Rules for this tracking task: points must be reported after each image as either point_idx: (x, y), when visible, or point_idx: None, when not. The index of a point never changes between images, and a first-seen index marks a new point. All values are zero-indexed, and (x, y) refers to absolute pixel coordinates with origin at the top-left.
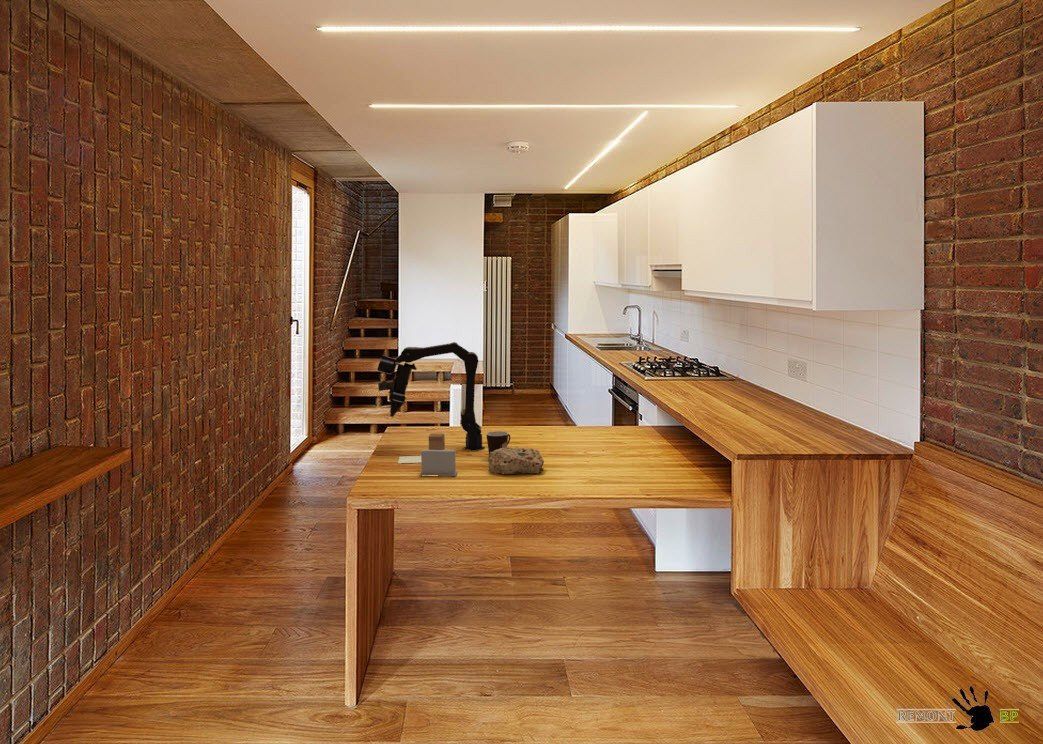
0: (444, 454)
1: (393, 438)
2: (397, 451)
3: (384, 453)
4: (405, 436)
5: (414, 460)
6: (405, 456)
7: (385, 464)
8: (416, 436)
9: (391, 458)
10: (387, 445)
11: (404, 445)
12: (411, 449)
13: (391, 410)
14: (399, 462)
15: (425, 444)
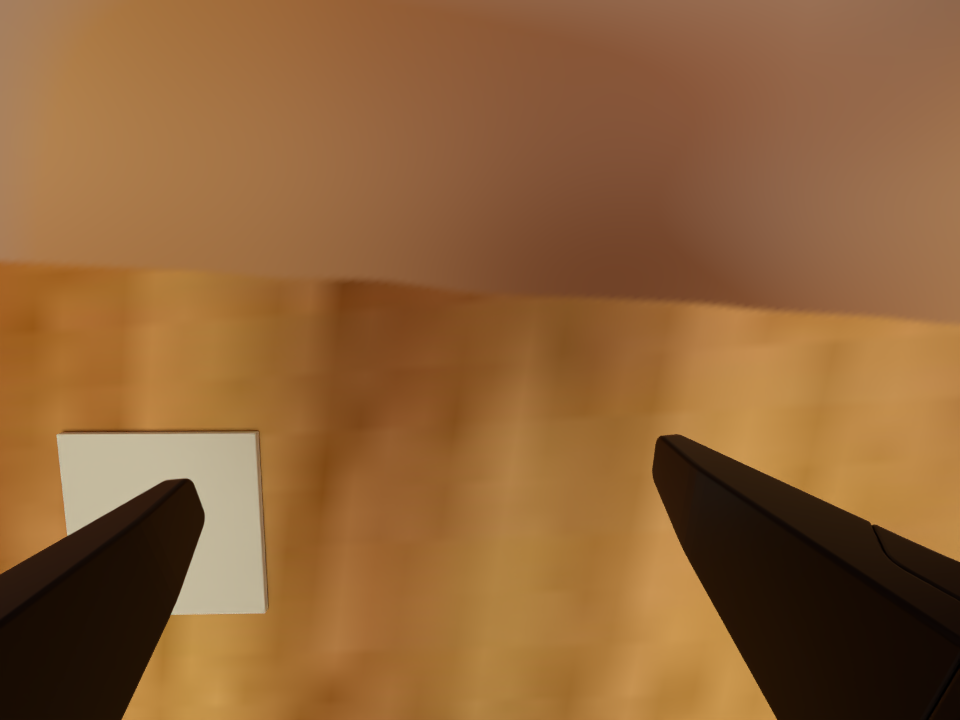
0: None
1: (901, 348)
2: (453, 405)
3: (401, 309)
4: (949, 439)
5: None
6: (252, 477)
7: (58, 341)
8: (927, 523)
9: (238, 373)
10: (665, 315)
11: (641, 447)
12: (503, 505)
13: (7, 587)
14: (73, 444)
15: (645, 598)
